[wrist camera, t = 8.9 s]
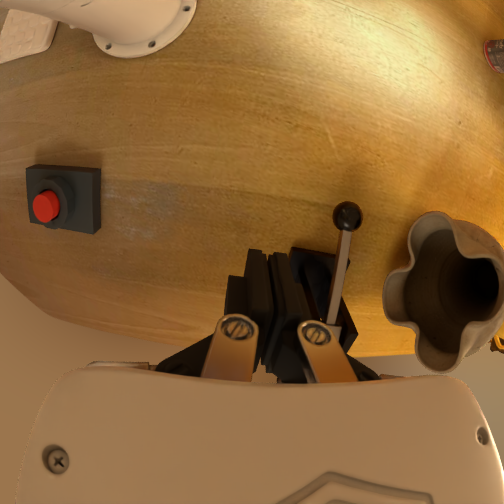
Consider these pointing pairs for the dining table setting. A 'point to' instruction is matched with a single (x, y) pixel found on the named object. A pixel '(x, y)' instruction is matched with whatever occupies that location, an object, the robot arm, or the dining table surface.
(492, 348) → the figurine
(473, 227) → the vase
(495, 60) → the pill bottle
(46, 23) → the calculator
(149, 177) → the dining table surface
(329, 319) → the lever
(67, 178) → the button box
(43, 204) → the button
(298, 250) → the bracket
